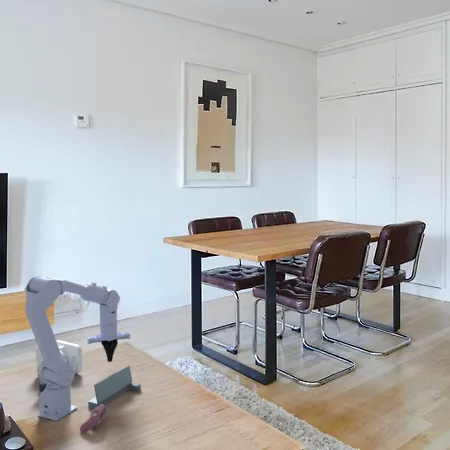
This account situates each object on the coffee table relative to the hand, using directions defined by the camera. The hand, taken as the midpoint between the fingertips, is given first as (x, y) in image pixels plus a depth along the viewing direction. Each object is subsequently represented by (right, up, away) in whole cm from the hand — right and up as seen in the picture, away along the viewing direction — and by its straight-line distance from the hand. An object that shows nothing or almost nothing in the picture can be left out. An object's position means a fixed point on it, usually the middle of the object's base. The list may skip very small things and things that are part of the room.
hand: (109, 360), depth 172 cm
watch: (-21, -11, 0) cm, 24 cm away
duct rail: (+3, -11, -6) cm, 13 cm away
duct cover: (+3, -6, -7) cm, 9 cm away
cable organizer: (-22, -10, +14) cm, 28 cm away
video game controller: (+1, -13, -24) cm, 27 cm away
